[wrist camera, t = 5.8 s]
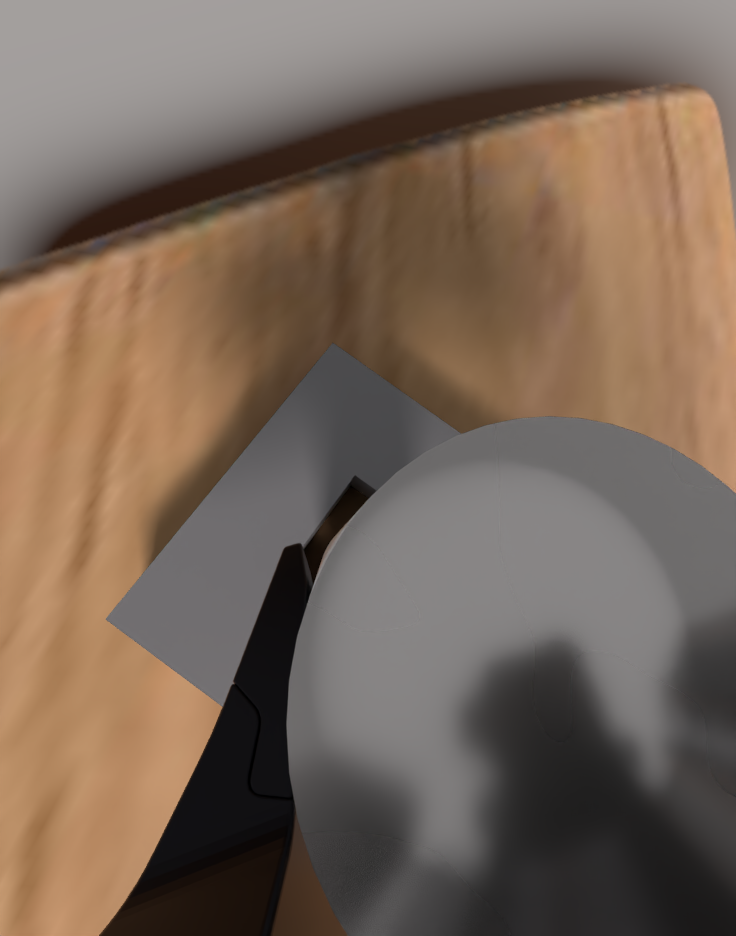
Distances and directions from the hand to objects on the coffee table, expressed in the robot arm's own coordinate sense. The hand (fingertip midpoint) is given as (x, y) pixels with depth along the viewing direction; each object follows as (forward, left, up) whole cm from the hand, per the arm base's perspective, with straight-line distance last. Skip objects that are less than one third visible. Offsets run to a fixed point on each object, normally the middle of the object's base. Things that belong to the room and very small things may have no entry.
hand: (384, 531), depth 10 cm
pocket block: (-1, +1, -9) cm, 9 cm away
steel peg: (-1, +1, -7) cm, 7 cm away
